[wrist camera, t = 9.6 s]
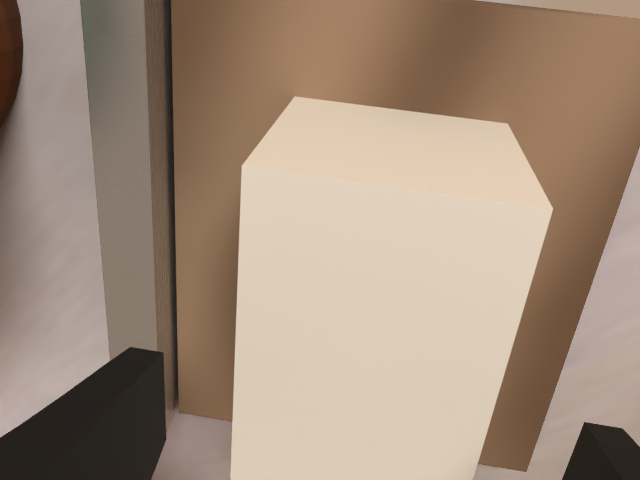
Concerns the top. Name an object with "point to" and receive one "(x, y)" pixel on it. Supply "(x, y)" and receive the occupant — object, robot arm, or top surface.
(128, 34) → the price rail
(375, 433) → the carton
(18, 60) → the food container
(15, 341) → the top surface
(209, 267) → the shelf board
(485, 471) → the top surface
